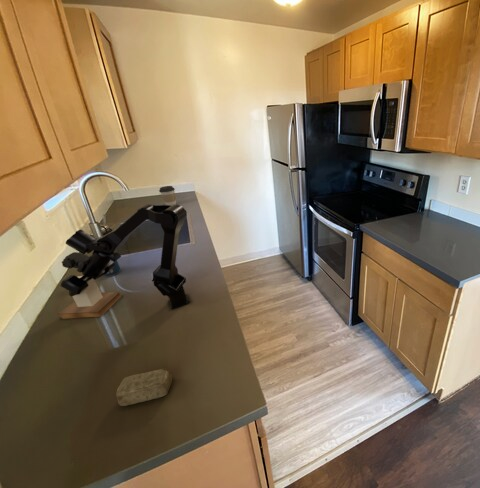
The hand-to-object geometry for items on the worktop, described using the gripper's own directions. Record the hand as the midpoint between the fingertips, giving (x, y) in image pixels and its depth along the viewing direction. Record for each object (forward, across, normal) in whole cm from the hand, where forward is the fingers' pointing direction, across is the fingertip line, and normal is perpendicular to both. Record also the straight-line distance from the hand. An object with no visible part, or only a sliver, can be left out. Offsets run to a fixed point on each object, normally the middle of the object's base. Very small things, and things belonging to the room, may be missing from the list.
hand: (80, 288), depth 102 cm
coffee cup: (+29, -137, -16) cm, 141 cm away
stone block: (-24, +39, +37) cm, 59 cm away
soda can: (+13, -26, 0) cm, 29 cm away
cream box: (+4, 0, +5) cm, 7 cm away
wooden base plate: (+6, 0, +7) cm, 9 cm away
